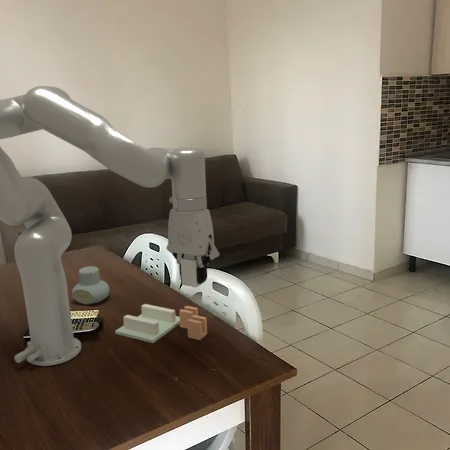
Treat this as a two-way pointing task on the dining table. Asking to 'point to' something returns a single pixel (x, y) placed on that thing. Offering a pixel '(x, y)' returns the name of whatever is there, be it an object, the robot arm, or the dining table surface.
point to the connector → (189, 270)
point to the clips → (193, 322)
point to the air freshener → (90, 286)
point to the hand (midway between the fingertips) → (193, 279)
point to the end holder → (149, 323)
